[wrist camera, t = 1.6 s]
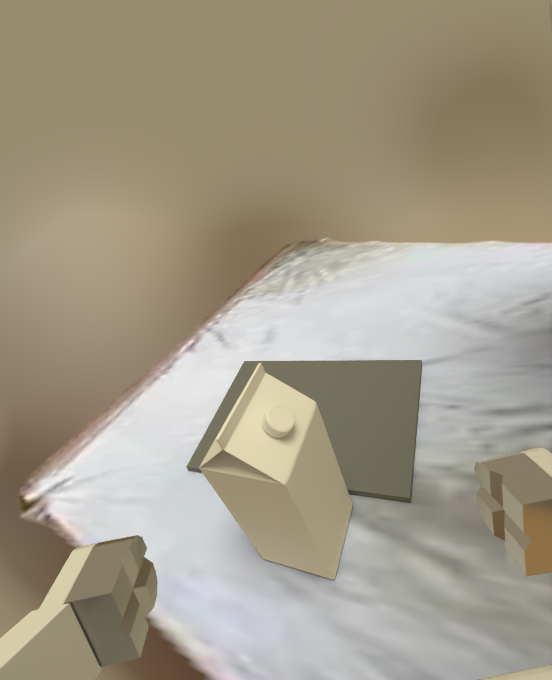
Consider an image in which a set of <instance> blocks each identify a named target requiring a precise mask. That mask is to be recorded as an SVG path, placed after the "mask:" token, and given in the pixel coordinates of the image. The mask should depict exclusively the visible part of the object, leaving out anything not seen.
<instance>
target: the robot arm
mask: <svg viewBox="0 0 552 680" xmlns="http://www.w3.org/2000/svg"><path fill="white" fill-rule="evenodd" d="M549 10H550V22H551V28H552V0H550V7H549ZM475 477H476V478H477V480H478V481H479V482H480V483H481V484H482V485H481V487H480V489H479V490H478V492H477V499H478V506H479V509H480V512H481V514H482V517H483V519H484V521H485V523H486V524H487V526H488V528H489V529H490V530H491V532H492V533H493V534H494V535H495V536H497V537H499V538H501V539H503V540H505V542H506V551H507V553H508V554H509V555H510V557H511V558H512V559H513V560H514V562H515V563H516V564H517V566H518V567H519V568H520V569H521V571H522V572H523V573H524V575H525V576H531V575H537V574H542V573H548V572H552V453H550V452H549V451H548V450H546V449H544V448H541V447H538V448H534V449H530V450H526V451H522V452H518V453H516V454H512V455H507V456H502V457H498V458H493V459H489V460H484V461H480V462H476V465H475ZM146 549H147V547H146V545H145V543H144V541H143V538H142V537H140V536H138V535H137V536H131V537H126V538H121V539H116V540H110V541H105V542H100V543H97V544H91V545H86V546H81V547H78V548H76V549H75V550H73V551H72V553H71V554H70V556H69V558H68V560H67V561H66V563H65V565H64V566H63V568H62V570H61V572H60V573H59V575H58V577H57V579H56V580H55V582H54V584H53V586H52V587H51V589H50V591H49V593H48V594H47V596H46V598H45V600H44V601H43V603H42V605H41V606H40V608H39V610H35V611H31V612H30V613H29V614H28V615H27V616H26V617H24V618H23V619H22V620H21V621H20V622H19V623H18V624H17V625H15V626H14V627H13V628H12V629H11V630H10V631H8V632H7V633H6V634H5V635H4V636H3V637H1V638H0V680H94V679H95V678H96V676H97V675H98V674H99V672H100V671H101V667H104V666H108V665H112V664H116V663H120V662H124V661H128V660H133V659H137V658H140V656H141V652H142V648H143V645H144V641H145V637H146V634H147V630H148V624H147V622H146V619H145V617H146V616H147V615H148V614H149V613H150V611H151V610H152V609H153V608H154V605H155V601H156V597H157V576H156V571H155V568H154V565H153V563H152V562H151V561H149V560H148V559H146V558H145V557H144V555H145V552H146ZM478 680H552V664H550V665H545V666H541V667H536V668H531V669H526V670H521V671H517V672H512V673H507V674H502V675H497V676H492V677H488V678H483V679H478Z"/></svg>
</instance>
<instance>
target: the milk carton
mask: <svg viewBox="0 0 552 680" xmlns="http://www.w3.org/2000/svg"><path fill="white" fill-rule="evenodd" d="M199 468H200V470H201V471H202V473H203V474H204V476H205V477H206V478H207V480H208V481H209V483H210V484H211V485H212V487H213V488H214V490H215V491H216V493H217V494H218V495H219V497H220V498H221V500H222V501H223V503H224V504H225V505H226V507H227V508H228V510H229V511H230V512H231V514H232V515H233V517H234V518H235V520H236V521H237V522H238V524H239V525H240V527H241V528H242V529H243V531H244V532H245V534H246V535H247V537H248V538H249V539H250V541H251V542H252V544H253V545H254V547H255V548H256V549H257V551H258V552H259V554H260V555H261V556H262V558H263V559H265V560H269V561H272V562H275V563H279V564H282V565H285V566H289V567H292V568H295V569H299V570H302V571H305V572H309V573H312V574H315V575H319V576H322V577H325V578H329V579H332V580H334V579H335V577H336V573H337V569H338V565H339V561H340V556H341V552H342V548H343V544H344V540H345V536H346V532H347V528H348V523H349V519H350V515H351V511H352V502H351V499H350V496H349V493H348V490H347V487H346V485H345V482H344V479H343V476H342V473H341V470H340V468H339V465H338V462H337V459H336V456H335V453H334V451H333V448H332V445H331V442H330V439H329V436H328V434H327V431H326V428H325V425H324V422H323V420H322V417H321V414H320V411H319V409H318V406H317V403H316V402H315V401H314V400H312V399H310V398H309V397H307V396H305V395H304V394H302V393H300V392H298V391H297V390H295V389H293V388H291V387H290V386H288V385H286V384H284V383H283V382H281V381H279V380H278V379H276V378H274V377H272V376H271V375H269V374H267V373H265V370H264V368H263V366H262V363H258V365H257V367H256V369H255V371H254V372H253V374H252V376H251V378H250V379H249V381H248V383H247V385H246V386H245V388H244V390H243V392H242V393H241V395H240V396H239V398H238V400H237V402H236V403H235V405H234V407H233V409H232V410H231V412H230V414H229V416H228V417H227V419H226V421H225V423H224V424H223V426H222V428H221V430H220V431H219V433H218V435H217V437H216V438H215V440H214V442H213V444H212V445H211V447H210V449H209V451H208V453H207V454H206V456H205V458H204V460H203V461H202V463H201V465H200V467H199Z"/></svg>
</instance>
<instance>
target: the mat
mask: <svg viewBox="0 0 552 680" xmlns="http://www.w3.org/2000/svg"><path fill="white" fill-rule="evenodd" d="M258 363H262V366H263V368H264V370H265V373H267V374H269V375H271V376H272V377H274V378H276V379H278V380H279V381H281V382H283V383H284V384H286V385H288V386H290V387H291V388H293V389H295V390H297V391H298V392H300V393H302V394H304V395H305V396H307V397H309V398H310V399H312V400H314V401H315V402H316V403H317V406H318V409H319V411H320V414H321V417H322V420H323V422H324V425H325V428H326V431H327V434H328V436H329V439H330V442H331V445H332V448H333V451H334V453H335V456H336V459H337V462H338V465H339V468H340V470H341V473H342V476H343V479H344V482H345V485H346V487H347V490H348V493H349V494H354V495H361V496H368V497H375V498H382V499H389V500H396V501H403V502H410V503H411V495H412V482H413V470H414V458H415V445H416V433H417V421H418V409H419V396H420V384H421V372H422V360H373V361H244V363H243V365H242V367H241V369H240V370H239V372H238V374H237V376H236V378H235V379H234V381H233V383H232V385H231V387H230V389H229V390H228V392H227V394H226V396H225V398H224V400H223V401H222V403H221V405H220V407H219V409H218V410H217V412H216V414H215V416H214V418H213V420H212V421H211V423H210V425H209V427H208V429H207V431H206V432H205V434H204V436H203V438H202V440H201V441H200V443H199V445H198V447H197V449H196V451H195V452H194V454H193V456H192V458H191V460H190V462H189V463H188V465H187V468H188V470H189V471H194V472H201V473H202V471H201V470H200V468H199V467H200V465H201V463H202V461H203V460H204V458H205V456H206V454H207V453H208V451H209V449H210V447H211V445H212V444H213V442H214V440H215V438H216V437H217V435H218V433H219V431H220V430H221V428H222V426H223V424H224V423H225V421H226V419H227V417H228V416H229V414H230V412H231V410H232V409H233V407H234V405H235V403H236V402H237V400H238V398H239V396H240V395H241V393H242V392H243V390H244V388H245V386H246V385H247V383H248V381H249V379H250V378H251V376H252V374H253V372H254V371H255V369H256V367H257V365H258Z"/></svg>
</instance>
